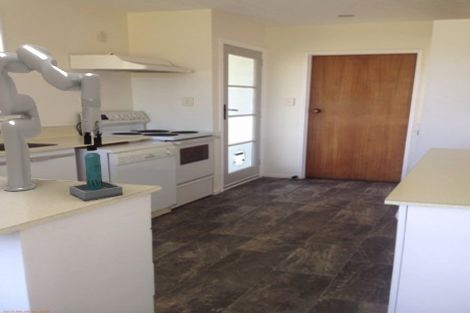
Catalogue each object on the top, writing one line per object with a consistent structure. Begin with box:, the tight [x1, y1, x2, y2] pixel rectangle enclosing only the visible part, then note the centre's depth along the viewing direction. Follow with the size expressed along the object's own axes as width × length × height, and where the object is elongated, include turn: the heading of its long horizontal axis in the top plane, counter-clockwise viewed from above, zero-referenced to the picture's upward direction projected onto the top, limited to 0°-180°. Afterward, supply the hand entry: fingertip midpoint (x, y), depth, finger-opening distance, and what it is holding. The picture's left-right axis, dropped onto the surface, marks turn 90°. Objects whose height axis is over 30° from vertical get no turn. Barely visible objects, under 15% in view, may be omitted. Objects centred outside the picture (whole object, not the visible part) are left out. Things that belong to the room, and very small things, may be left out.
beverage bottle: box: [84, 144, 104, 191], centre depth 163 cm, size 6×7×20 cm
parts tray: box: [69, 180, 123, 202], centre depth 164 cm, size 16×16×4 cm
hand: (92, 145), depth 162 cm, fingers open, 9 cm apart
